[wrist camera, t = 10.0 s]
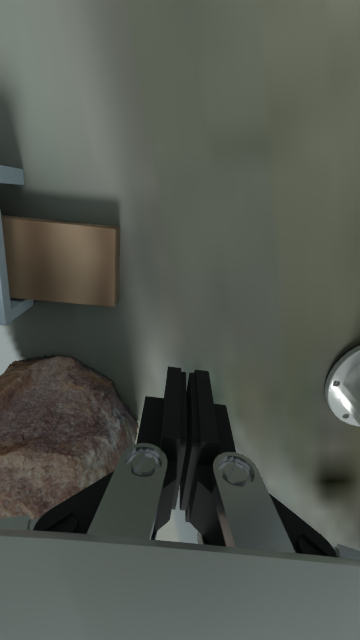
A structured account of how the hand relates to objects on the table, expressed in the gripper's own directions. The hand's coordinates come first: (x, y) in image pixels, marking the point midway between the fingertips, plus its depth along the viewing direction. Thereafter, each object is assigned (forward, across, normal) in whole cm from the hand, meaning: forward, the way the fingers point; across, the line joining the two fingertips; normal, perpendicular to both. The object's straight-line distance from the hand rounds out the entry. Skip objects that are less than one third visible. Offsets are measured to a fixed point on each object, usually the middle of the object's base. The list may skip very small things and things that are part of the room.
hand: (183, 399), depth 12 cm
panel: (+23, +14, 0) cm, 27 cm away
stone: (+23, +12, +18) cm, 31 cm away
